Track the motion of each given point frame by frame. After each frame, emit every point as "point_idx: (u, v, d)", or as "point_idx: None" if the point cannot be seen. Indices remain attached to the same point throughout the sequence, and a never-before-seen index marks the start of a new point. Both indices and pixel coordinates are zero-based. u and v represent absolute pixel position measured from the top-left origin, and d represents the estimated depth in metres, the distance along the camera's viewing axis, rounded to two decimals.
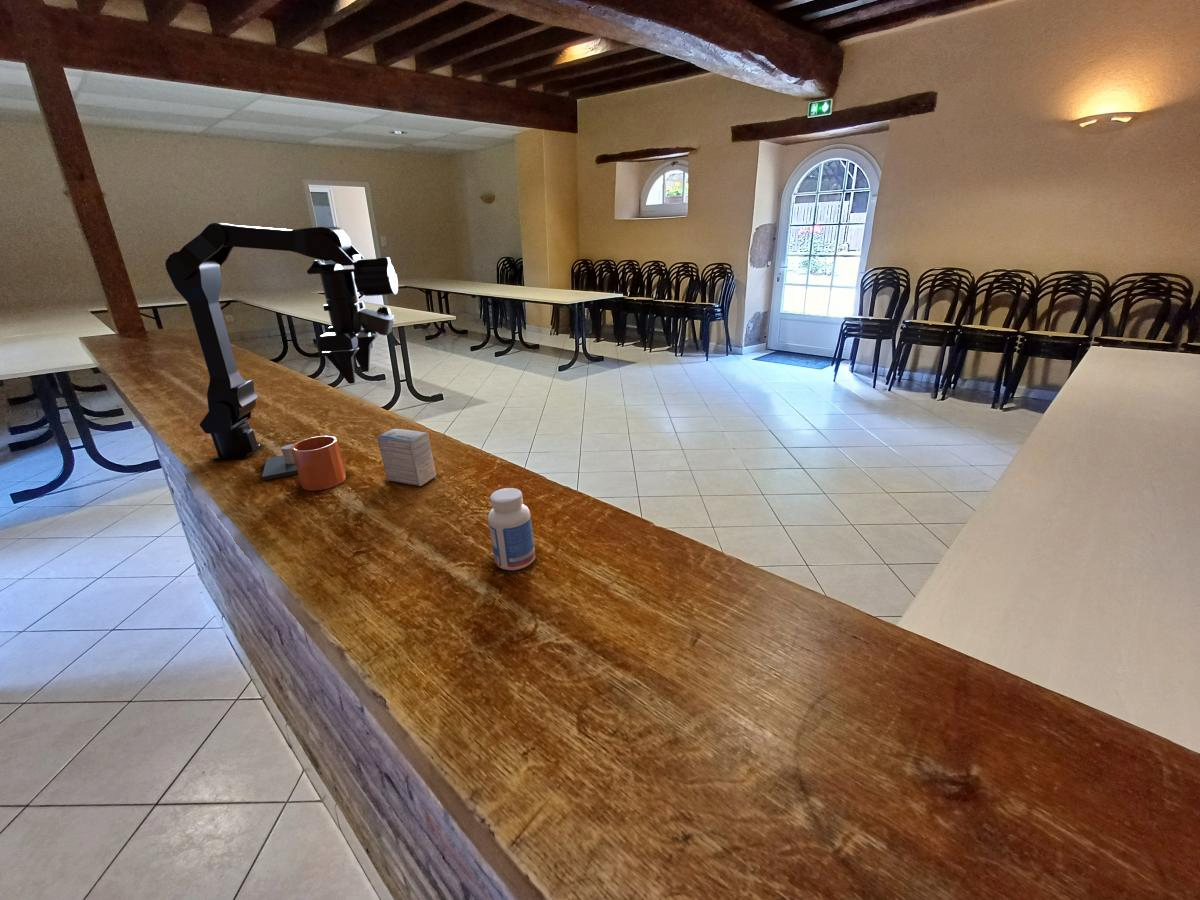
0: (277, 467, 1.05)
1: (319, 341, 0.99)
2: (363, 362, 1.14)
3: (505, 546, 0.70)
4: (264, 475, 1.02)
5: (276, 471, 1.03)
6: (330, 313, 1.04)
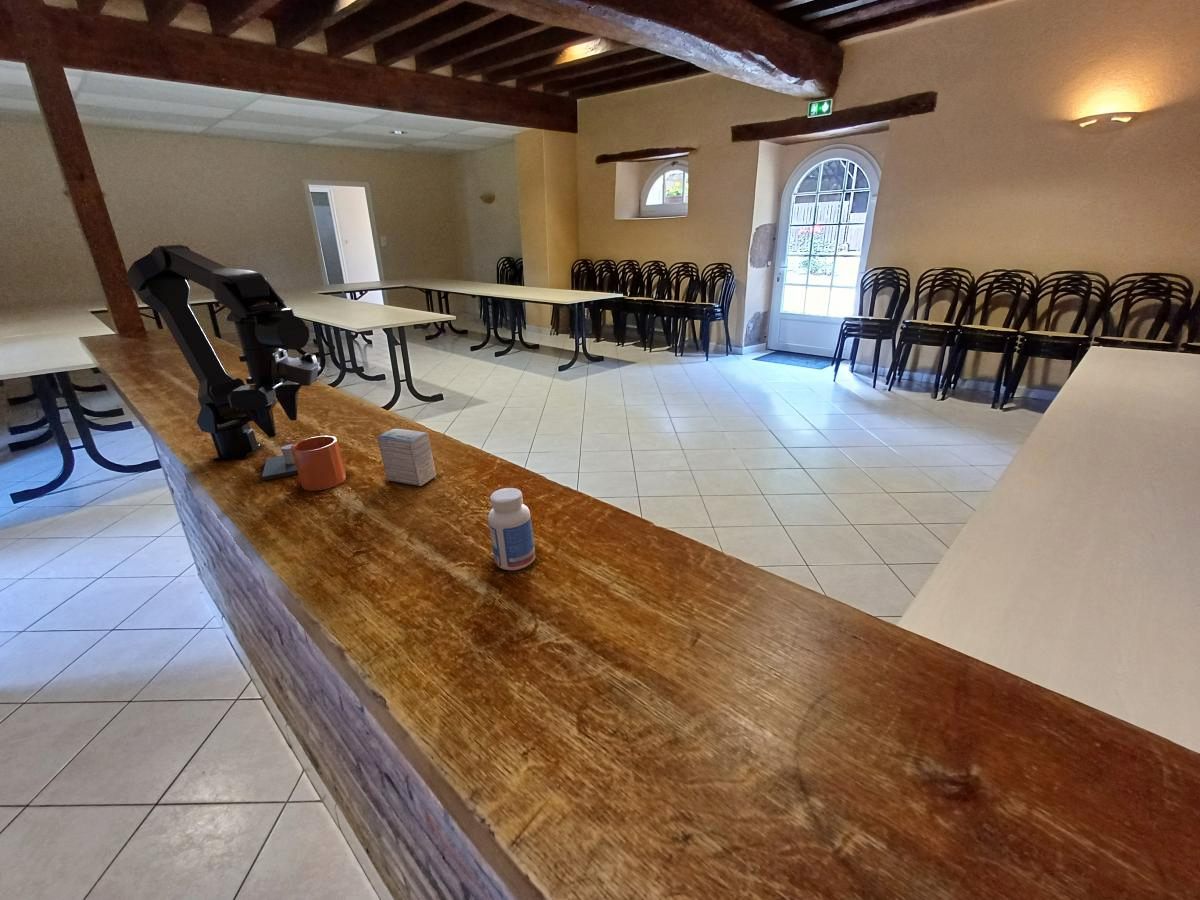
0: (277, 467, 1.05)
1: (230, 397, 0.92)
2: (290, 411, 1.08)
3: (505, 546, 0.70)
4: (264, 475, 1.02)
5: (276, 471, 1.03)
6: (247, 364, 0.98)
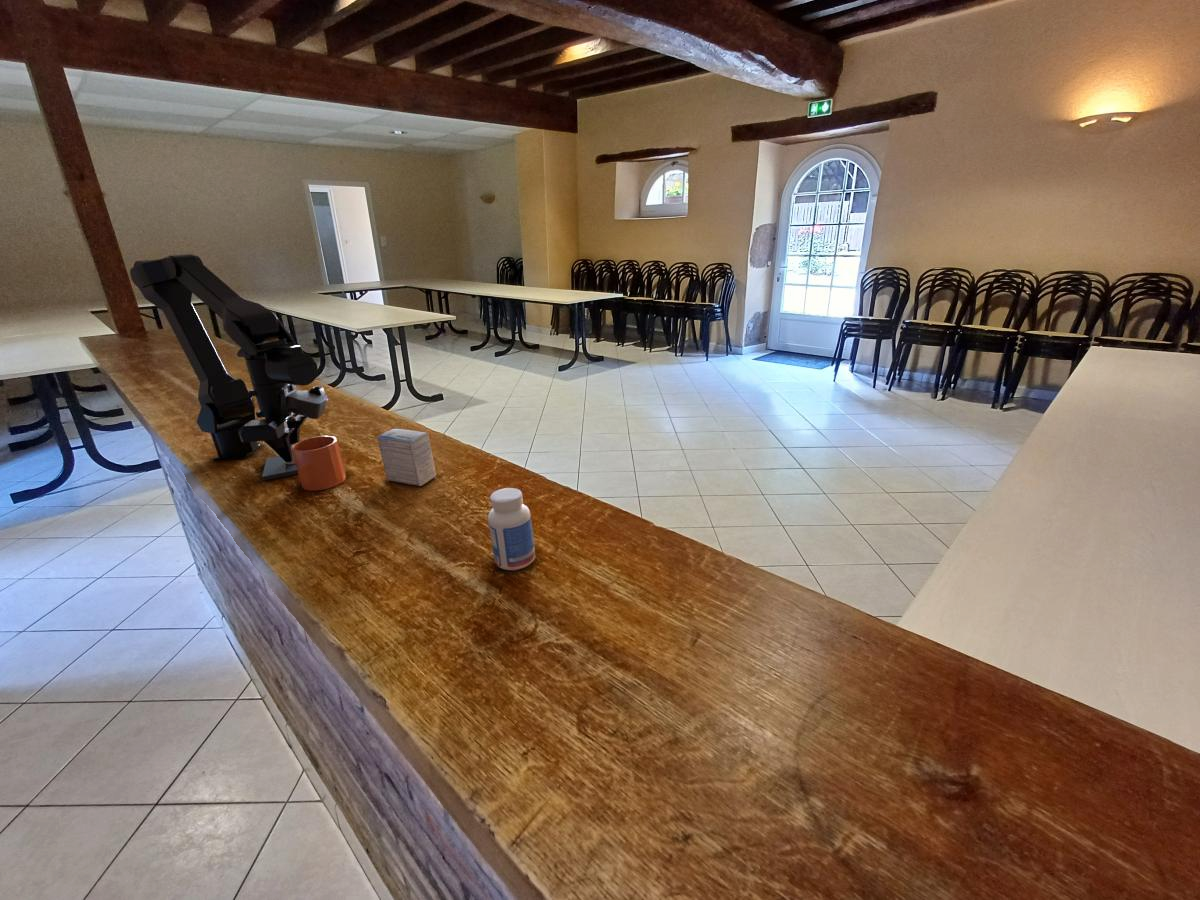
0: (277, 467, 1.05)
1: (241, 432, 0.95)
2: None
3: (505, 546, 0.70)
4: (264, 475, 1.02)
5: (276, 470, 1.03)
6: (257, 398, 1.00)
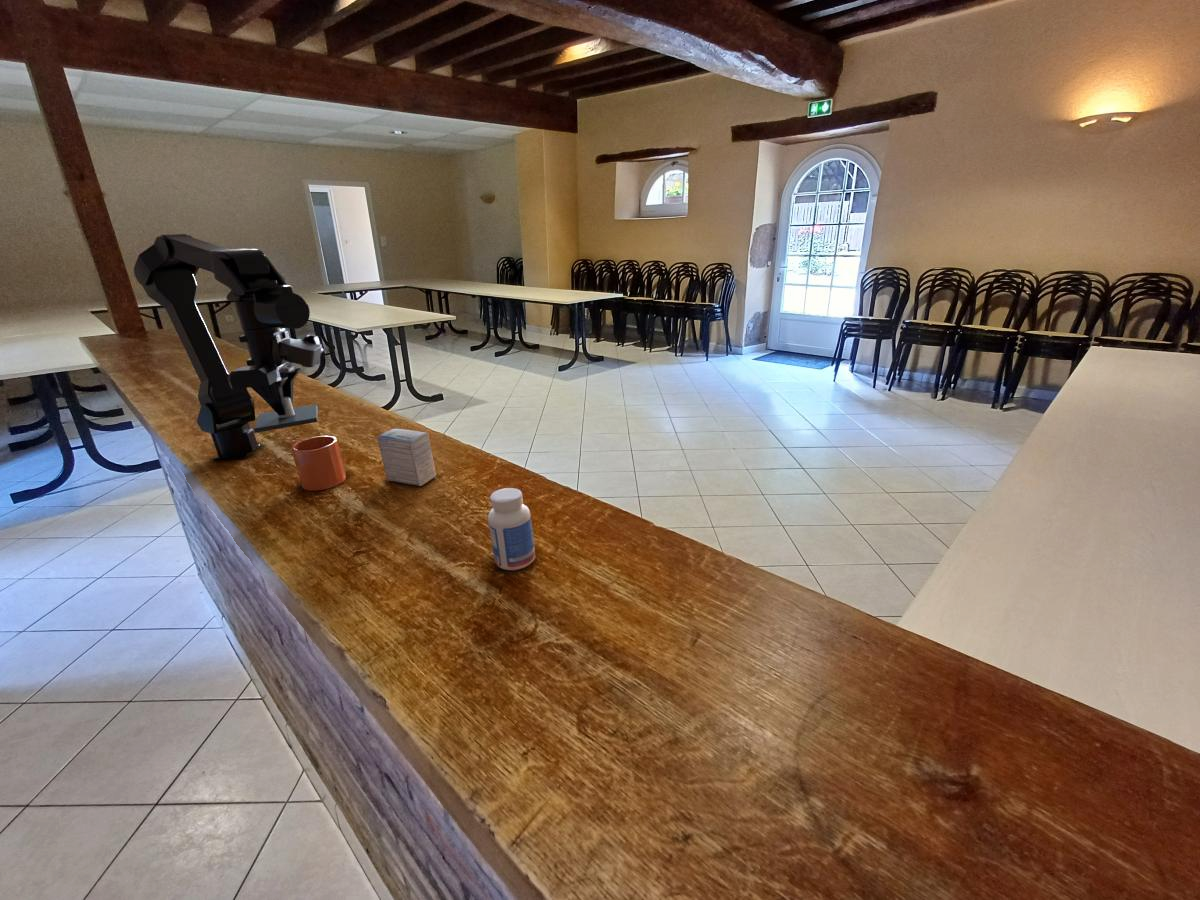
0: (269, 420, 0.99)
1: (230, 377, 0.89)
2: None
3: (505, 546, 0.70)
4: (256, 427, 0.96)
5: (268, 423, 0.98)
6: (247, 344, 0.94)
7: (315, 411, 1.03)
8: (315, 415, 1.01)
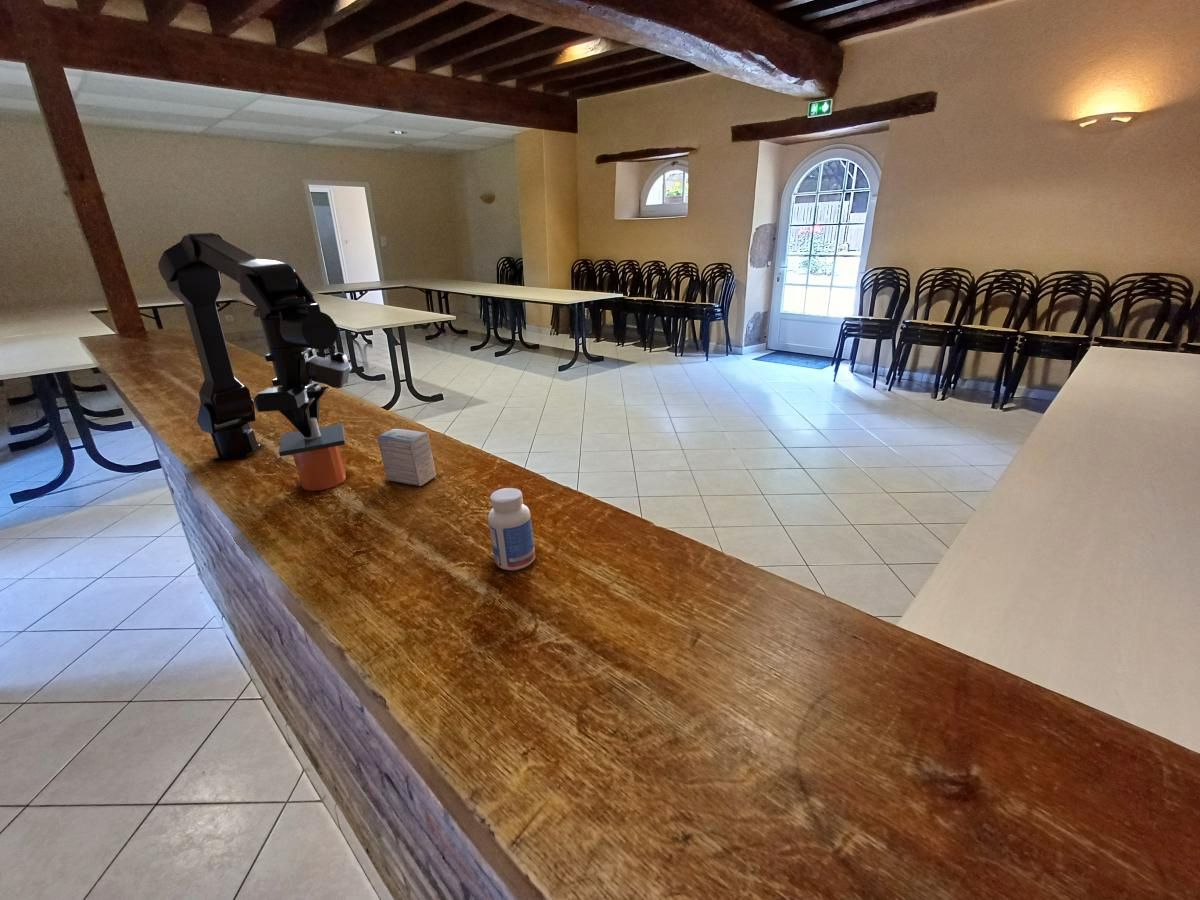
0: (295, 442, 0.94)
1: (257, 400, 0.84)
2: None
3: (505, 546, 0.70)
4: (281, 450, 0.91)
5: (294, 446, 0.93)
6: (273, 364, 0.89)
7: (342, 432, 0.98)
8: (342, 437, 0.96)
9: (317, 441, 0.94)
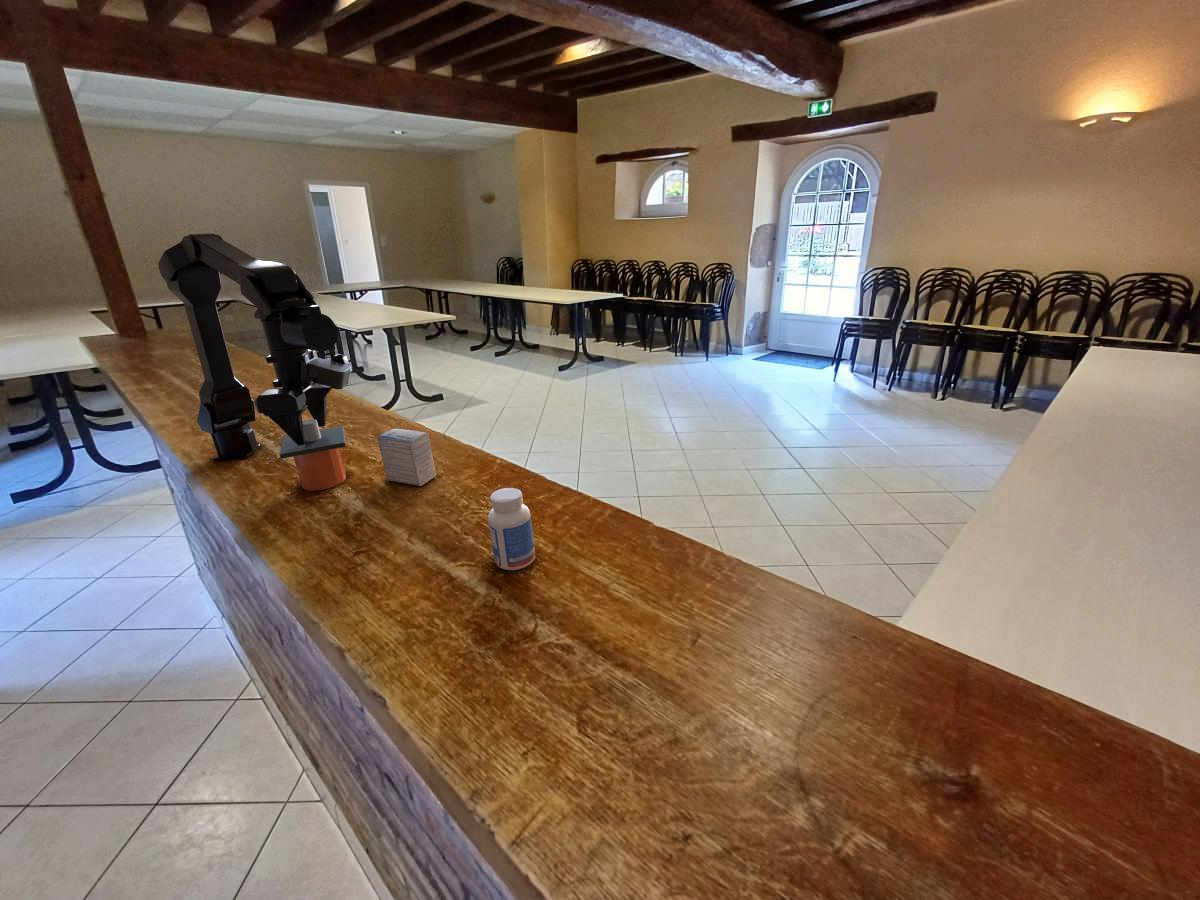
0: (295, 445, 0.94)
1: (257, 402, 0.84)
2: (318, 416, 1.00)
3: (505, 546, 0.70)
4: (282, 452, 0.91)
5: (295, 448, 0.93)
6: (274, 365, 0.89)
7: (342, 434, 0.98)
8: (343, 439, 0.96)
9: (318, 443, 0.94)
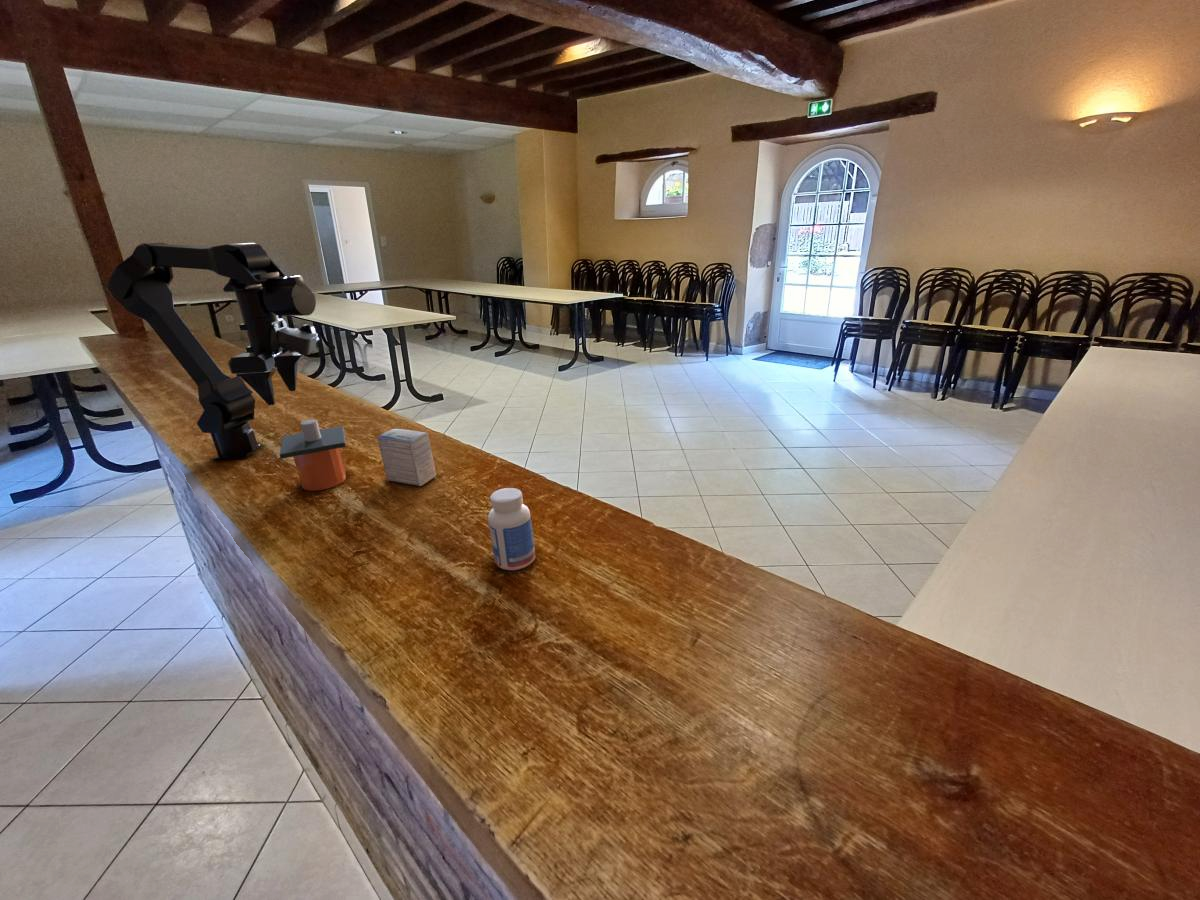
0: (295, 445, 0.94)
1: (230, 363, 0.95)
2: (289, 381, 1.11)
3: (505, 546, 0.70)
4: (282, 452, 0.91)
5: (295, 448, 0.93)
6: (247, 332, 1.00)
7: (342, 434, 0.98)
8: (343, 439, 0.96)
9: (318, 443, 0.94)
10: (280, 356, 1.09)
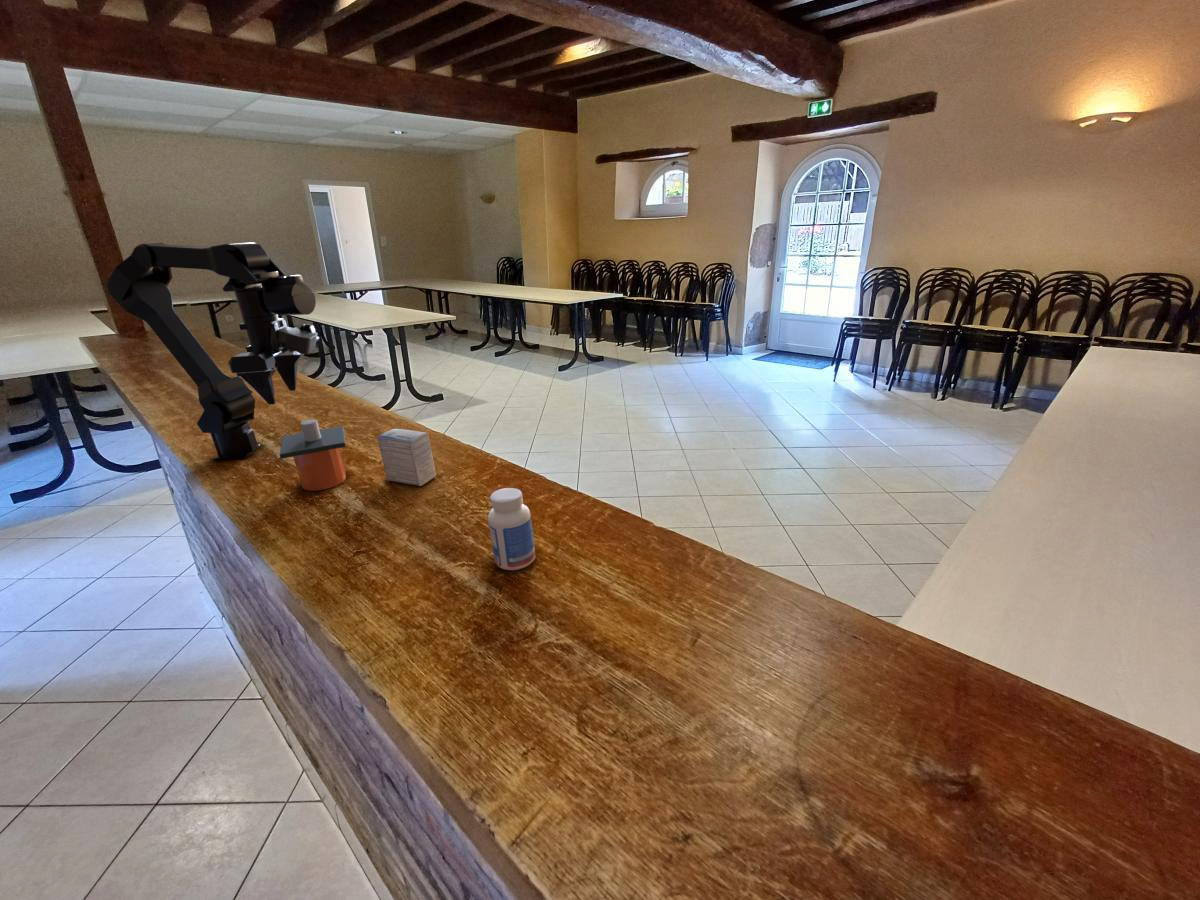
0: (295, 445, 0.94)
1: (231, 362, 0.95)
2: (289, 381, 1.11)
3: (505, 546, 0.70)
4: (282, 452, 0.91)
5: (295, 448, 0.93)
6: (247, 332, 1.00)
7: (342, 434, 0.98)
8: (343, 439, 0.96)
9: (318, 443, 0.94)
10: (280, 356, 1.09)
